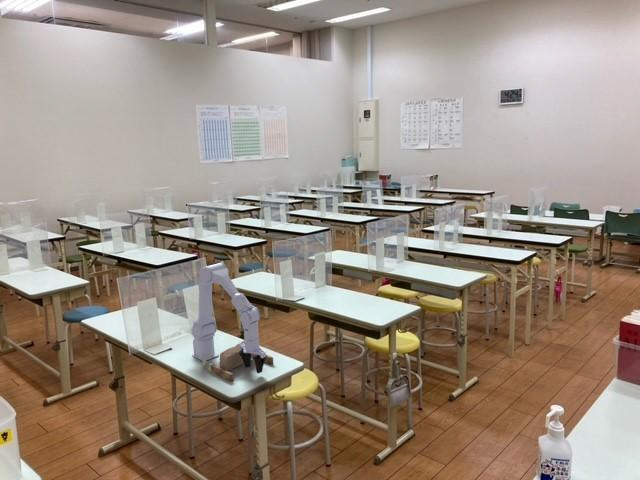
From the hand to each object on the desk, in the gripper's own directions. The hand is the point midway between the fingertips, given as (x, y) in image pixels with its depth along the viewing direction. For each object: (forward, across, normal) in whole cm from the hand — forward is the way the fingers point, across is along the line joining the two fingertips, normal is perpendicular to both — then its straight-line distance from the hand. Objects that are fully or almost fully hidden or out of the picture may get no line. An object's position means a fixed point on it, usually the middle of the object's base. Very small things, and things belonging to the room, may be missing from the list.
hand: (253, 369), depth 201 cm
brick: (+2, -11, 0) cm, 11 cm away
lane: (+1, -10, 0) cm, 11 cm away
